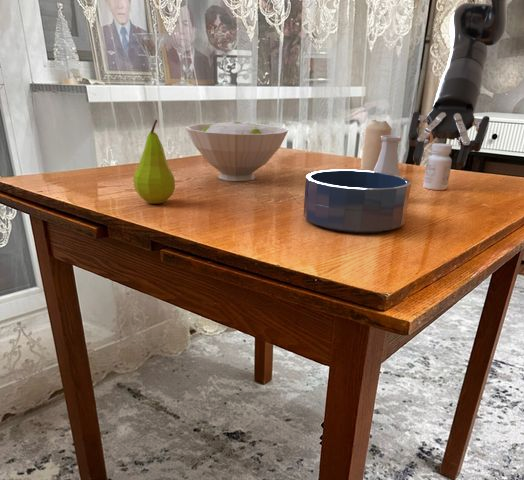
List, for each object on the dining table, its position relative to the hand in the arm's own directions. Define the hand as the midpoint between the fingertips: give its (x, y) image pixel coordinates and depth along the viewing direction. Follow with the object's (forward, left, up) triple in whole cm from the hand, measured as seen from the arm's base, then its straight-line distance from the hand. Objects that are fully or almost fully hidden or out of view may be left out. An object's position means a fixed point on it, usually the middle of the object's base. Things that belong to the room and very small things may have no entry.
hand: (437, 164), depth 98 cm
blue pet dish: (+4, +31, -4) cm, 32 cm away
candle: (+16, -14, -5) cm, 22 cm away
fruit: (+34, +38, -5) cm, 52 cm away
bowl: (+35, +12, -5) cm, 38 cm away
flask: (+5, +14, -5) cm, 16 cm away
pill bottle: (0, -2, -5) cm, 5 cm away
